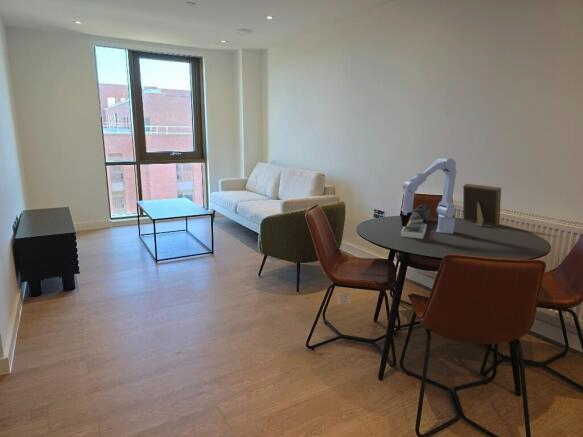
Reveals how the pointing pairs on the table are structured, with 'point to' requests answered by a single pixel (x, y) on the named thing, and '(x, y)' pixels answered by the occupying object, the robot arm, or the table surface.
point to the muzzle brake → (420, 213)
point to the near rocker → (413, 226)
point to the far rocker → (416, 221)
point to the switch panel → (414, 232)
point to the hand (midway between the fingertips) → (404, 225)
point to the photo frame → (481, 204)
